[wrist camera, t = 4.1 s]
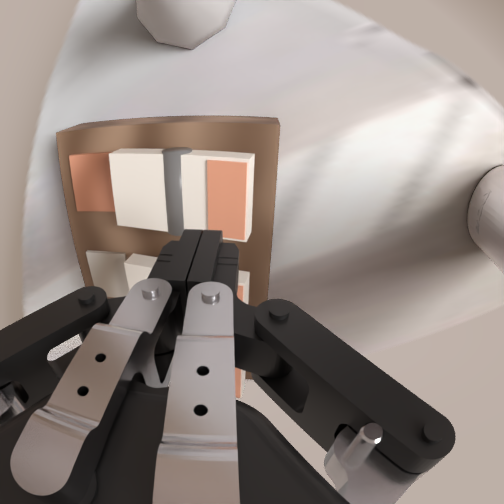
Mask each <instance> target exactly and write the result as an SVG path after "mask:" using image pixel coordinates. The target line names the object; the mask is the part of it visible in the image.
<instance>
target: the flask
mask: <svg viewBox="0 0 504 504" xmlns="http://www.w3.org/2000/svg"><path fill="white" fill-rule="evenodd" d="M235 2H236V0H136V5H137V18H138V19H139V20H140V22H141V23H142V24H143V25H144V27H145V28H146V29H147V30H148V31H149V33H150V34H151V35H152V36H153V38H154V39H155V40H156V41H157V42H159V43H164V44H169V45H174V46H179V47H184V48H188V49H192V50H193V49H194V48H196V47H197V46H198V45H200V44H201V43H203V42H204V41H206V40H207V39H209V38H210V37H212V36H213V35H215V34H216V33H218V32H219V31H221V30H222V29H224V28H225V27H226V24H227V22H228V19H229V17H230V14H231V12H232V9H233V7H234V4H235Z"/></svg>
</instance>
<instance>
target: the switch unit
mask: <svg viewBox="0 0 504 504" xmlns="http://www.w3.org/2000/svg"><path fill="white" fill-rule="evenodd" d="M279 135H280V123H279V121H278V118H270V117H250V116H167V117H147V118H132V119H119V120H109V121H99V122H90V123H82V124H79V125H76V126H73V127H71V128H68V129H65V130H62V131H60V132H57V133H56V137H57V146H58V155H59V163H60V170H61V177H62V183H63V190H64V196H65V201H66V207H67V212H68V217H69V222H70V227H71V231H72V236H73V240H74V244H75V249H76V253H77V257H78V261H79V265H80V268H81V272H82V276H83V279H84V283H85V287H88V286H96V287H100V288H102V289H103V290H104V291H105V292H106V294H107V298H108V299H109V298H116V297H123V296H127V294H128V292H129V286H128V281H127V276H126V271H125V266H124V262H125V261H126V260H127V259H128V258H129V257H130V256H131V255H132V254H133V253H134V254H140V255H146V256H152V257H158V256H159V254H160V252H161V250H162V248H163V246H165V245H166V244H167V243H168V242H170V241H171V240H174V241H179V240H180V238H181V236H174V235H170V234H169V233H168V232H166V231H158V230H150V229H143V228H135V227H127V226H119V225H117V219H116V212H115V205H114V197H113V189H112V181H111V171H110V161H109V153H112V152H114V151H116V150H119V149H167V148H173V147H188V148H191V149H192V150H208V151H225V152H240V153H252V154H255V159H254V182H253V206H252V229H251V234H250V236H249V238H248V240H247V242H241V241H234V240H226V239H223V243H235V245H236V246H237V248H238V249H239V270H240V271H247V272H250V276H249V300H248V305H251V306H255V307H257V306H258V305H259V304H261V303H262V302H264V301H267V296H268V285H269V273H270V260H271V248H272V235H273V222H274V208H275V194H276V180H277V165H278V150H279ZM245 379H253V378H252V376H251V372H247V371H246V372H245Z"/></svg>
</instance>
